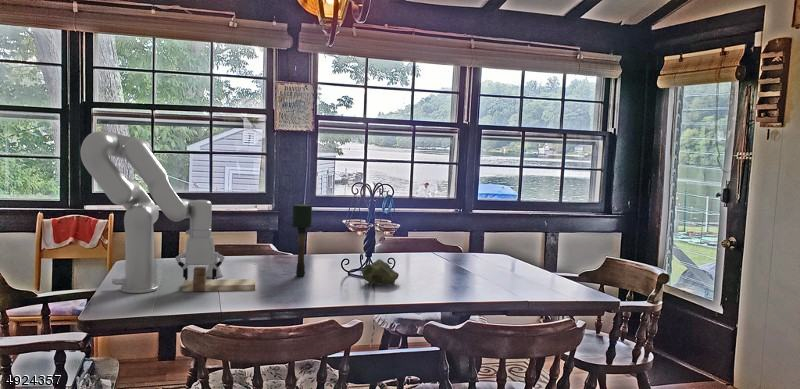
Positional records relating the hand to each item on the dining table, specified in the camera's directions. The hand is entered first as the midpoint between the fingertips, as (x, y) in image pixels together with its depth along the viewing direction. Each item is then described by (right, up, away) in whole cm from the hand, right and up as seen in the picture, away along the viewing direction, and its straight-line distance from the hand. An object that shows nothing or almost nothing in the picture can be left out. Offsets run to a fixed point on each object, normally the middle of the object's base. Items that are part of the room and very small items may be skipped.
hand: (199, 279), depth 224 cm
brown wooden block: (-1, -3, +3) cm, 4 cm away
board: (+6, -4, +4) cm, 8 cm away
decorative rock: (+67, -5, +21) cm, 70 cm away
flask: (-2, -2, +23) cm, 23 cm away
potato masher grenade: (+32, -3, +31) cm, 45 cm away
